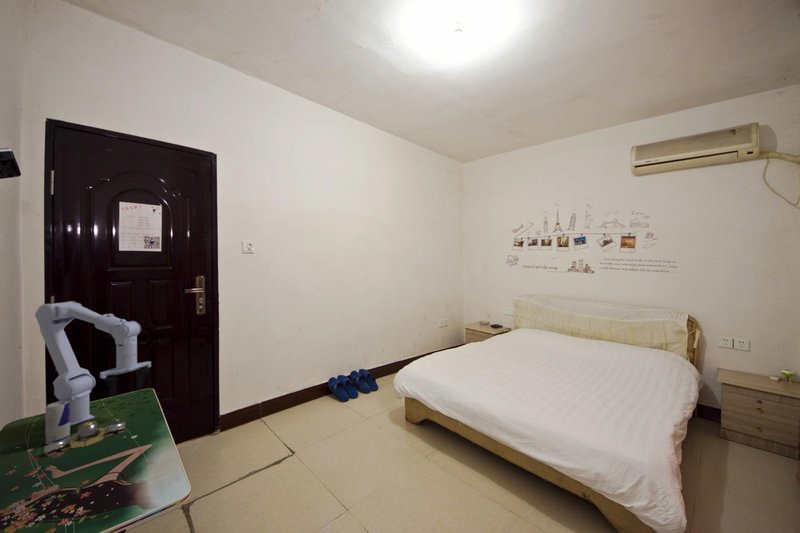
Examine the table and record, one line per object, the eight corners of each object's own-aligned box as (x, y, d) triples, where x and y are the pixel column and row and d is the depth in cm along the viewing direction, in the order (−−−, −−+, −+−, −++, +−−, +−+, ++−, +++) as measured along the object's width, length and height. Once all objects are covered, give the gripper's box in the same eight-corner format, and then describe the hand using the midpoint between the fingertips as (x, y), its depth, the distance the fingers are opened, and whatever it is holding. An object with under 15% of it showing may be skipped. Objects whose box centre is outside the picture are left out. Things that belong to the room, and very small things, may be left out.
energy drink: (74, 436, 104) (74, 400, 104) (55, 445, 99) (55, 407, 99) (60, 435, 105) (60, 399, 105) (40, 444, 99) (40, 407, 99)
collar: (62, 443, 100) (62, 438, 100) (99, 430, 108) (99, 425, 108) (73, 450, 96) (73, 445, 96) (110, 436, 104) (110, 432, 104)
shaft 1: (66, 445, 99) (66, 436, 99) (70, 448, 97) (70, 439, 97) (43, 453, 94) (43, 444, 94) (47, 456, 93) (47, 447, 93)
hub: (75, 441, 101) (75, 425, 101) (93, 434, 105) (93, 418, 105) (80, 445, 99) (80, 428, 99) (99, 438, 103) (99, 422, 103)
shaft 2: (105, 437, 104) (105, 429, 104) (105, 433, 106) (105, 425, 106) (125, 431, 107) (125, 423, 107) (124, 427, 110) (124, 420, 110)
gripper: (106, 361, 107) (106, 401, 107) (155, 351, 120) (155, 386, 120) (97, 359, 110) (97, 397, 110) (145, 349, 123) (145, 383, 123)
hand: (126, 391), depth 115 cm, fingers open, 7 cm apart
